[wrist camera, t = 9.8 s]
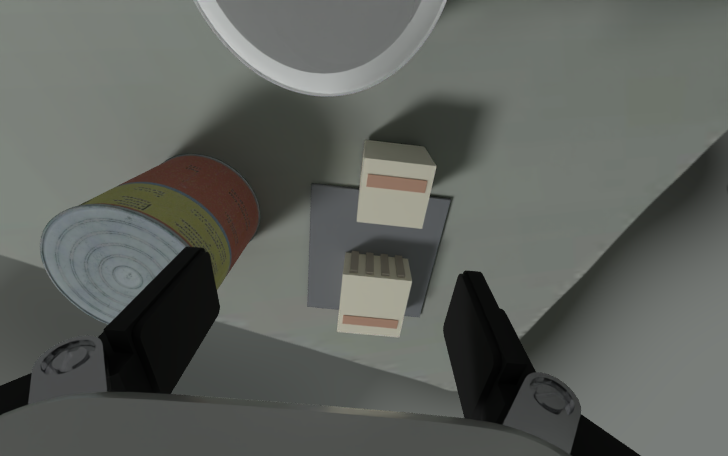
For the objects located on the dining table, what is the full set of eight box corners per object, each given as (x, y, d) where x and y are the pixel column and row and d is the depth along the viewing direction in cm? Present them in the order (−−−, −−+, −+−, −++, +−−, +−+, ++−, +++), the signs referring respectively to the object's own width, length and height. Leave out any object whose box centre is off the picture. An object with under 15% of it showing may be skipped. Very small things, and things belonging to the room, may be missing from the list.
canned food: (139, 146, 30) (11, 194, 19) (258, 162, 30) (198, 217, 20) (160, 245, 35) (69, 326, 24) (261, 258, 35) (215, 342, 25)
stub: (424, 146, 29) (436, 166, 23) (413, 200, 31) (422, 229, 26) (364, 139, 28) (363, 158, 23) (358, 194, 31) (356, 222, 26)
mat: (449, 198, 32) (450, 200, 31) (418, 315, 39) (419, 317, 39) (312, 183, 31) (311, 184, 31) (307, 304, 39) (307, 306, 38)
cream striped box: (408, 256, 34) (412, 279, 31) (396, 312, 38) (399, 338, 35) (345, 250, 34) (342, 272, 31) (340, 306, 38) (336, 332, 35)
